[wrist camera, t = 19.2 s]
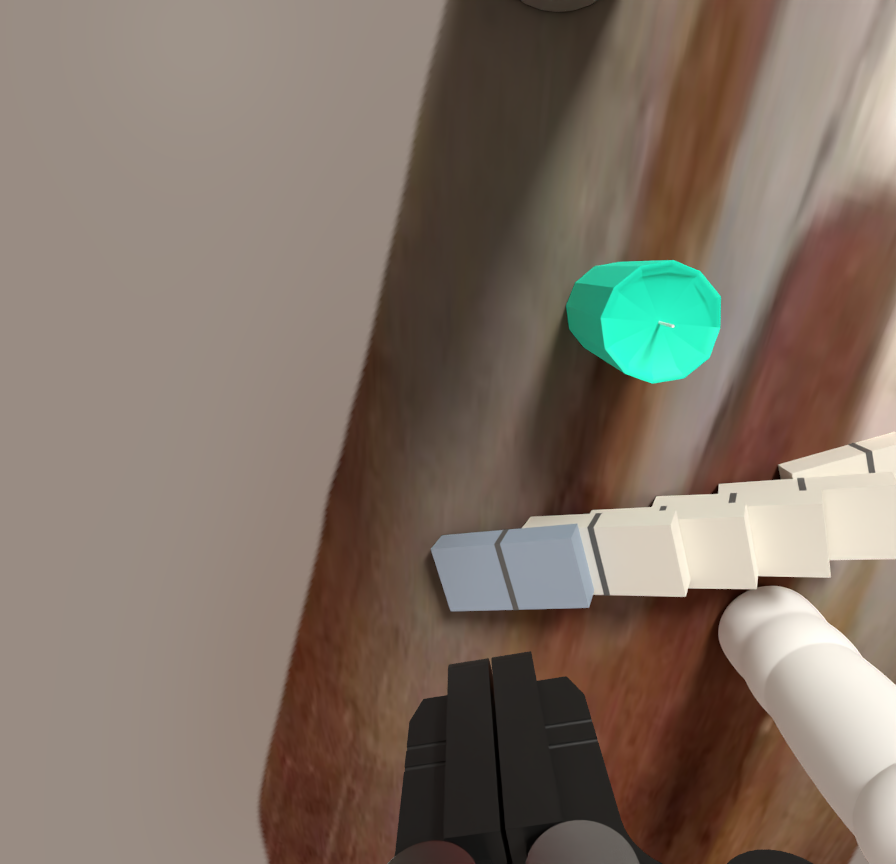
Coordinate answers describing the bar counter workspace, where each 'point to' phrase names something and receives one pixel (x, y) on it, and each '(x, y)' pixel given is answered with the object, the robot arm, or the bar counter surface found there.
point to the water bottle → (821, 707)
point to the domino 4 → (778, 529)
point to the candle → (646, 317)
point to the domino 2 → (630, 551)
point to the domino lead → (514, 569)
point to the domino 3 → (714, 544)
